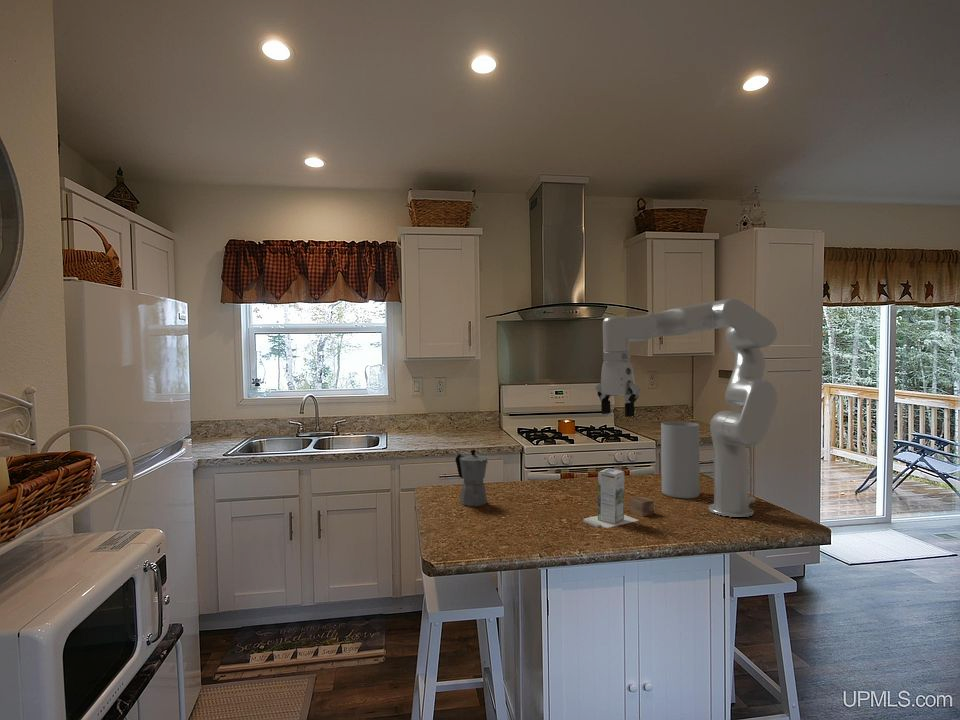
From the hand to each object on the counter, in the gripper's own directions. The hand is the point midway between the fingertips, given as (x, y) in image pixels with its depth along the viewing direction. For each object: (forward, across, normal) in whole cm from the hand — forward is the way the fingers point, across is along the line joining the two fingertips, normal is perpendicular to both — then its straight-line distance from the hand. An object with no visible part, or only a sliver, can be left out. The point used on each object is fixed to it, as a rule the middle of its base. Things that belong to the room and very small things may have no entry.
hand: (617, 415), depth 151 cm
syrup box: (+31, -1, +4) cm, 31 cm away
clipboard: (+31, -1, +4) cm, 32 cm away
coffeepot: (+31, +39, +30) cm, 58 cm away
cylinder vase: (+32, +9, -38) cm, 51 cm away
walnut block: (+32, -1, -8) cm, 33 cm away
